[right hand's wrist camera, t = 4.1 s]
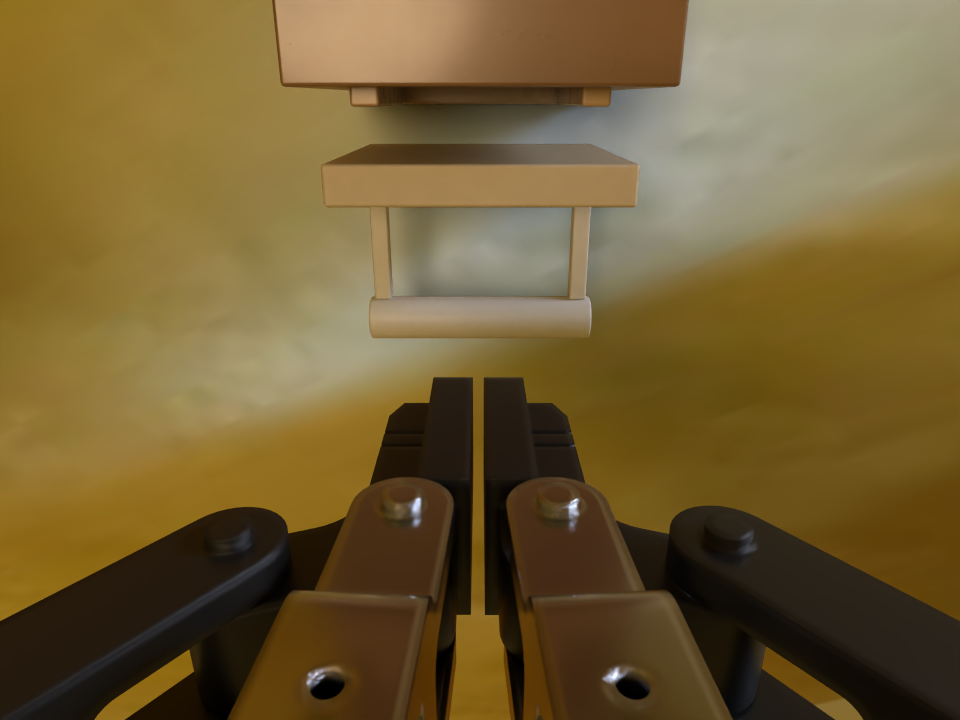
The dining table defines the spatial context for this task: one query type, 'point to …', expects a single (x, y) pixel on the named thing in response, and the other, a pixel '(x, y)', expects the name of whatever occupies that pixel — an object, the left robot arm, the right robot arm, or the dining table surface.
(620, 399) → the dining table surface
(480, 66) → the cabinet
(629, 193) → the drawer
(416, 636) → the right robot arm
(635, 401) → the dining table surface
